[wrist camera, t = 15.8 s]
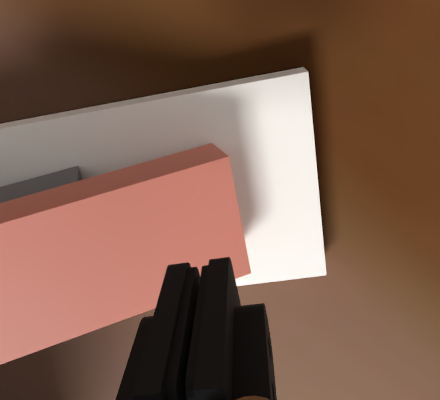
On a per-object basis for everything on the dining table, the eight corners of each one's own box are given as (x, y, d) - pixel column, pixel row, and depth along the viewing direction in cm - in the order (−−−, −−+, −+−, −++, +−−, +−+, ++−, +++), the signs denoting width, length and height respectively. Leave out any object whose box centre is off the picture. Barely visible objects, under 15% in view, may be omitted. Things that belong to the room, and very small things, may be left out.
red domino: (228, 156, 14) (-88, 249, 12) (251, 273, 16) (-13, 369, 14) (212, 142, 15) (-66, 221, 13) (234, 249, 18) (-3, 331, 15)
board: (303, 67, 15) (308, 71, 14) (321, 259, 19) (326, 275, 18) (-279, 176, 18) (-311, 186, 17) (-164, 321, 22) (-184, 337, 21)
